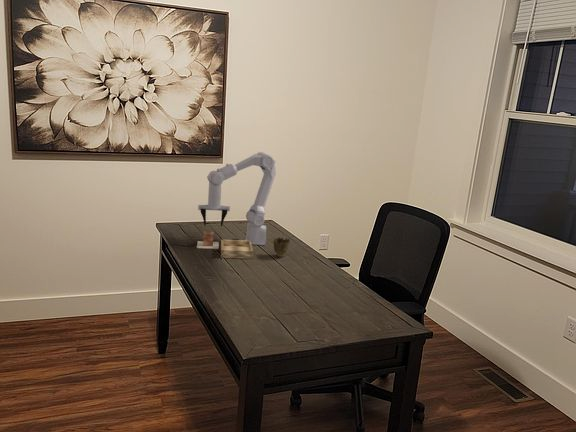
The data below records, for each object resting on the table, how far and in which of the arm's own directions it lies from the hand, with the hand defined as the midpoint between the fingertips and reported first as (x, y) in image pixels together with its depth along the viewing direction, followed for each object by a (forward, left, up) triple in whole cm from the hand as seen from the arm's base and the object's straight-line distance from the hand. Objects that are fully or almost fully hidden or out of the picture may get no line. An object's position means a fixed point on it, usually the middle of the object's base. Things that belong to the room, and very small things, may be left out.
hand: (213, 225), depth 248 cm
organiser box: (-11, +11, -10) cm, 18 cm away
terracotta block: (+2, +2, -9) cm, 10 cm away
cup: (-31, +14, -10) cm, 35 cm away
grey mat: (+2, +2, -10) cm, 10 cm away
